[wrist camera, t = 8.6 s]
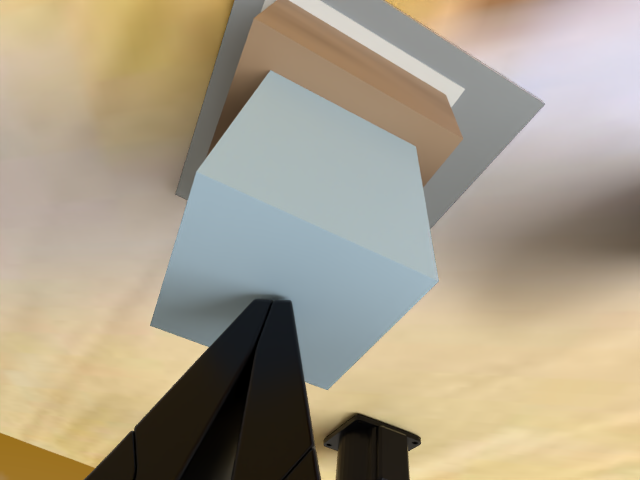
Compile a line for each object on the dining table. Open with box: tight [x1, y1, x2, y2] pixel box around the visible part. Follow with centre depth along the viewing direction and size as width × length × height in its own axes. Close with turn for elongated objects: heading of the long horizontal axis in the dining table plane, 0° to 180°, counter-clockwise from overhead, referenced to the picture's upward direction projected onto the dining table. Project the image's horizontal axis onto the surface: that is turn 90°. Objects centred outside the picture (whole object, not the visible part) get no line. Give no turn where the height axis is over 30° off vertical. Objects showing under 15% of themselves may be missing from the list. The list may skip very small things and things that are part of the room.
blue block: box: [150, 70, 439, 390], centre depth 11 cm, size 5×5×6 cm
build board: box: [175, 0, 545, 229], centre depth 17 cm, size 12×12×1 cm
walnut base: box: [206, 0, 463, 187], centre depth 15 cm, size 7×7×4 cm
